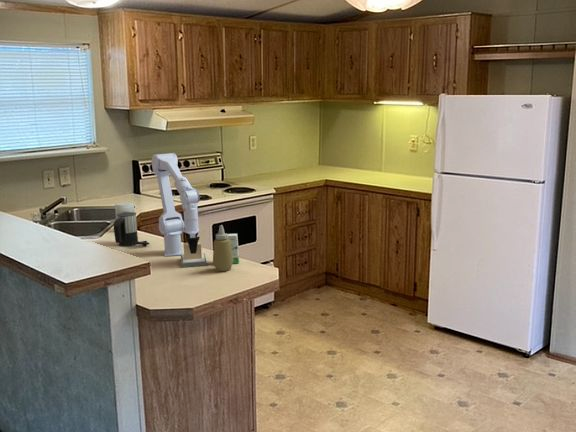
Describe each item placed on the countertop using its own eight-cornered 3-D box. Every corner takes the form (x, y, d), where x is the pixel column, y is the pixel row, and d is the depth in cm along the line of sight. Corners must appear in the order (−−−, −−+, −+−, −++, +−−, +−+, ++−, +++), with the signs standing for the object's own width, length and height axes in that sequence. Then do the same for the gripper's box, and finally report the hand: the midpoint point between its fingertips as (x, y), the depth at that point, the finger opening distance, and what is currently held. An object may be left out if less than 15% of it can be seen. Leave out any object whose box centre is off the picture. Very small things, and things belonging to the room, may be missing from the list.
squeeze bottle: (209, 271, 247) (207, 227, 243) (218, 266, 254) (216, 222, 251) (228, 273, 244) (226, 228, 241) (237, 267, 252) (234, 223, 248)
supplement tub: (114, 231, 326) (111, 203, 323) (131, 228, 332) (129, 201, 329) (121, 234, 319) (119, 205, 316) (138, 231, 324) (136, 203, 321)
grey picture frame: (181, 258, 267) (180, 254, 267) (204, 257, 269) (204, 252, 269) (182, 267, 254) (181, 262, 254) (206, 265, 256) (206, 260, 255)
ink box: (239, 260, 262) (237, 232, 260) (238, 263, 257) (237, 235, 255) (218, 261, 262) (216, 233, 259) (217, 264, 257) (215, 236, 255)
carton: (201, 255, 264) (200, 241, 263) (201, 258, 260) (201, 244, 259) (184, 256, 263) (183, 243, 262) (184, 259, 258) (183, 245, 257)
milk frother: (122, 242, 302) (119, 211, 299) (154, 241, 301) (152, 211, 298) (113, 249, 288) (110, 217, 285) (147, 248, 287) (144, 217, 284)
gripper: (180, 216, 264) (182, 247, 267) (181, 223, 250) (183, 256, 253) (197, 215, 266) (199, 246, 268) (199, 222, 252) (201, 254, 254)
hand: (193, 251), depth 261 cm, fingers open, 7 cm apart
